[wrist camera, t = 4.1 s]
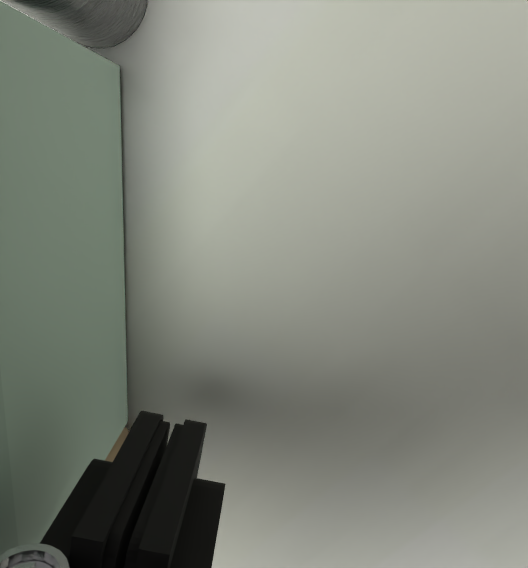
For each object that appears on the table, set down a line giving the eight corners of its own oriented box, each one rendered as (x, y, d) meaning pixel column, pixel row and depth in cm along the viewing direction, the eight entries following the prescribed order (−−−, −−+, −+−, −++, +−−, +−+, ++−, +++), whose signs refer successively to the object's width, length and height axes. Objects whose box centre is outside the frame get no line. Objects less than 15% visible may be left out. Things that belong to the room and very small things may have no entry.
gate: (59, 62, 13) (-269, -74, 5) (128, 66, 13) (-102, -65, 5) (81, 466, 17) (-97, 737, 9) (135, 470, 17) (4, 747, 9)
